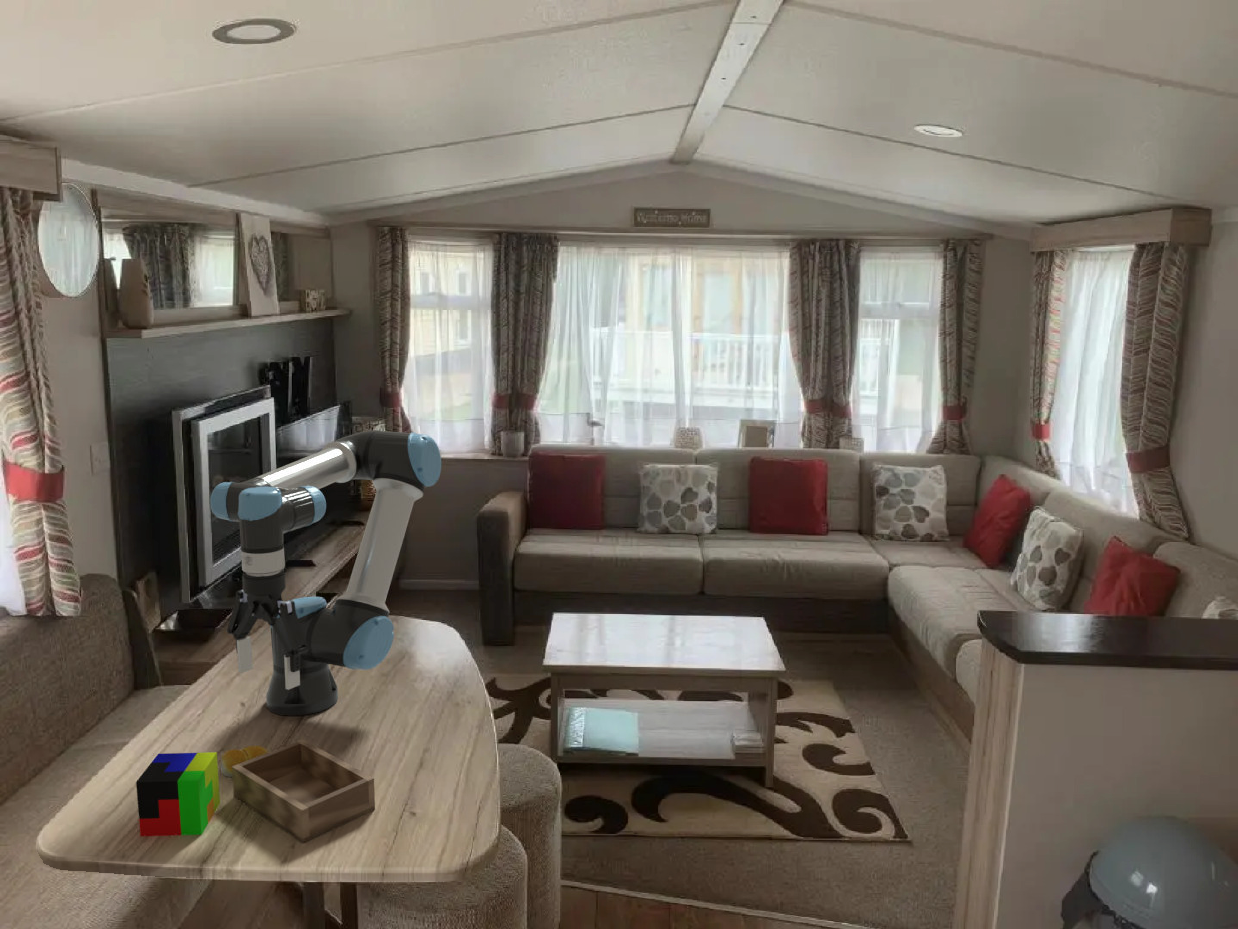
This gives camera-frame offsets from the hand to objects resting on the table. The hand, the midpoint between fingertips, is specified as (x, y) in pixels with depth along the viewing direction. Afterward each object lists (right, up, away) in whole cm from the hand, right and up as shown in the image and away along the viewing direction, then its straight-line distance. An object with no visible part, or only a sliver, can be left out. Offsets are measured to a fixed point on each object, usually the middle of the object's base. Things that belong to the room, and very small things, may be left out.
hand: (268, 678), depth 188 cm
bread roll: (-6, -18, +3) cm, 19 cm away
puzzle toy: (-10, -21, -16) cm, 28 cm away
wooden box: (+10, -20, -10) cm, 25 cm away
